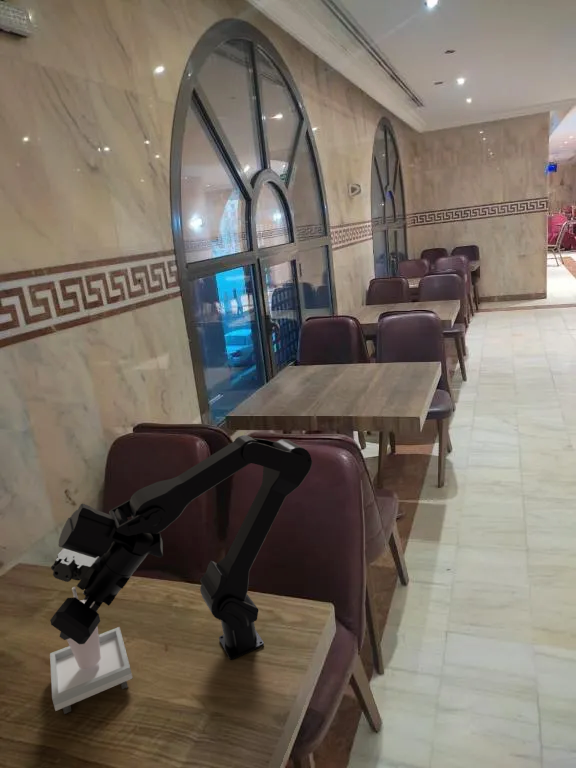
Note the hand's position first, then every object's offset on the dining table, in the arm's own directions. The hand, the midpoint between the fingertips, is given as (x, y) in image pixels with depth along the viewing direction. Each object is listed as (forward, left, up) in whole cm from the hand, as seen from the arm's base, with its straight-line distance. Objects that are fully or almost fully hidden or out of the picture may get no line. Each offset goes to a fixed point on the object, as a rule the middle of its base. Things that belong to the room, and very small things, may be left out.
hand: (72, 623), depth 90 cm
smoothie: (-1, -1, -7) cm, 8 cm away
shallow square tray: (-1, -1, -11) cm, 12 cm away
